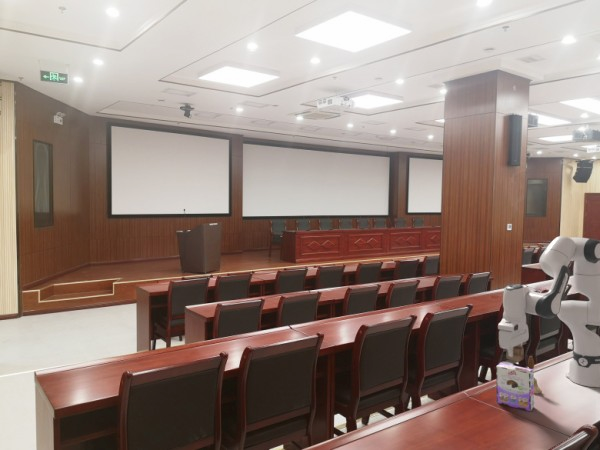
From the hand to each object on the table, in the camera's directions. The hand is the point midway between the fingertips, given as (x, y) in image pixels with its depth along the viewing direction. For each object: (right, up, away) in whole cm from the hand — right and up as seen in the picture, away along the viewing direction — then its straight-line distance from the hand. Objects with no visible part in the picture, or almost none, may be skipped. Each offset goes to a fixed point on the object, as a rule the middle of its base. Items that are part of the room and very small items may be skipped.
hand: (514, 354), depth 185 cm
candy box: (0, -22, +1) cm, 22 cm away
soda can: (+5, -21, +17) cm, 28 cm away
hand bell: (+15, -21, +16) cm, 31 cm away
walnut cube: (0, -2, 0) cm, 2 cm away
